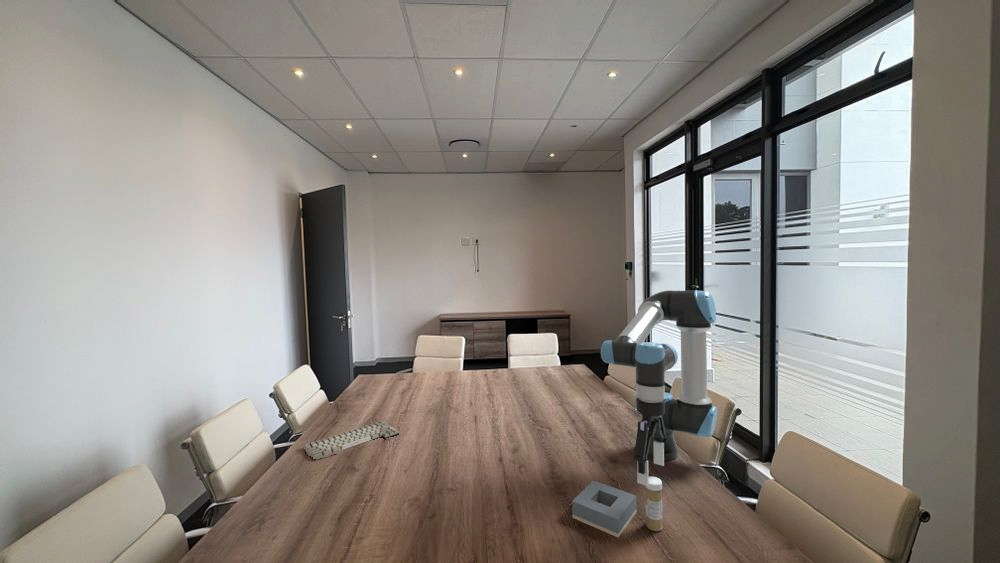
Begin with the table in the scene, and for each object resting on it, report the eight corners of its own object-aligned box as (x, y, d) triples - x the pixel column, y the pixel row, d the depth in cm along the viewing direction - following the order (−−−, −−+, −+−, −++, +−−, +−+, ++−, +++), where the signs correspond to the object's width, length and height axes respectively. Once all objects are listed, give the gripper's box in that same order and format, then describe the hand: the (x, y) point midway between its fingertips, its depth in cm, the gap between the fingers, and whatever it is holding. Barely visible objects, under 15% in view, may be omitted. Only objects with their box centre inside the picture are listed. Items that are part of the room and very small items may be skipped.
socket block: (593, 495, 123) (593, 480, 123) (636, 512, 114) (636, 495, 114) (572, 517, 112) (572, 501, 112) (618, 537, 104) (617, 519, 103)
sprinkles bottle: (649, 519, 111) (648, 473, 111) (665, 526, 108) (664, 479, 107) (643, 527, 107) (642, 480, 107) (659, 534, 104) (658, 486, 104)
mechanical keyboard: (316, 466, 149) (315, 457, 149) (300, 451, 163) (300, 443, 163) (402, 436, 175) (401, 428, 175) (382, 425, 189) (382, 418, 189)
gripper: (651, 386, 119) (652, 453, 119) (619, 408, 100) (621, 488, 100) (676, 390, 114) (677, 460, 114) (649, 414, 95) (650, 498, 95)
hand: (651, 473), depth 107 cm, fingers open, 13 cm apart
